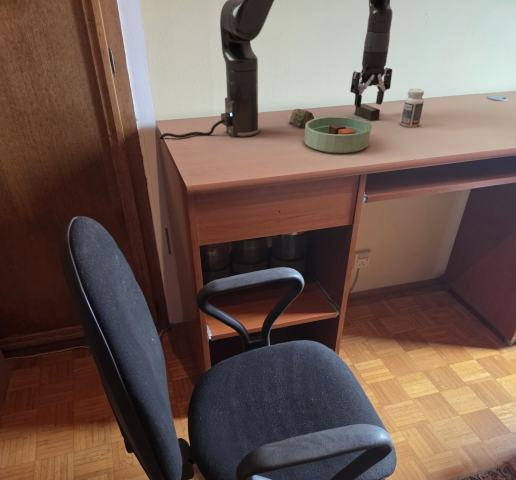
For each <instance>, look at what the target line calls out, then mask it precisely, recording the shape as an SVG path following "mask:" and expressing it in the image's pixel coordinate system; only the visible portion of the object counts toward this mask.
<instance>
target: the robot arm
mask: <svg viewBox="0 0 516 480" xmlns="http://www.w3.org/2000/svg"><path fill="white" fill-rule="evenodd" d="M274 2H275V0H226V1H225V2H224V3H223V6H222V7H221V10H220V15H219V26H220V27H219V28H220V42H221V51H222V56H223V59H224V62H225V78H226V97H224V110H225V112H223V113H220V120H219V121H217V122H216V123H214V124H213V125H212V126H211V129H210V130H209V131H208V132H203V131H202V132H201V131H191V132H187V133H182V134H175V133H171V132H165V133H163V134H161V135H160V136H159V137H158V140H163V139H164V138H165V137H171V138H177V139H182V138H187V137H191V136H211V135H212V134H213V133H214V131H215V129H216V128H217V127H218V126H219V125H222V126H224V127H225V131H226V132H227V133H228V134H229V135H230V136H232V137H234V138H235V137H253V136H255V135H257V134H259V59H258V56H257V55H256V54H255V52H254V51H253V48H252V44H251V43H252V41H254V40H255V39H256V38H257V37H258V36H259V35H260V34H261V32H262V30H263V27H264V25H265V24H266V21H267V18H268V17H269V14H270V13H271V9H272V7H273V4H274ZM368 8H369V9H368V19H367V27H366V34H365V37H364V43H363V52H362V59H361V67H362V69H361V71H356V70H355V71H353V72H352V77H351V84H350V90H349V92H350V93H352V94H354V102H353V103H354V104H353V105H354V106H355V108H356V107H357V108H360V107H361V104H362V100H363V99H362V98H363V95H362V94H363V93H364V91H365V90H367V88H368V87H372V86H376V88H377V90H378V91H377V94H376V101H375V104H376V105H378V106H379V105H381V106H382V103H383V101H384V96H385V92H386V91H387V90H390V89H391V85H392V77H393V69H392V68H391V67H385V66H386V65H387V61H388V54H389V48H390V47H389V46H390V39H391V27H392V22H393V9H392V7H391V0H368ZM164 230H165V238H166V243H167V253H168V255H172V249H171V241H170V236H169V235H170V234H169V230H168V227H164Z"/></svg>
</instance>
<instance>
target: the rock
mask: <svg viewBox="0 0 516 480" xmlns="http://www.w3.org/2000/svg"><path fill="white" fill-rule="evenodd" d="M312 119H315V116H314V114H313V113H312V112H311V111H310V110H305V109H301V108H295V109H293V110H292V112H291V115H290V117H289V124H292V125H294V126H295V127H298V128H300V129H305V124H306V123H307V122H308V121H310V120H312Z"/></svg>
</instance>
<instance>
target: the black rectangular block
mask: <svg viewBox="0 0 516 480" xmlns="http://www.w3.org/2000/svg"><path fill="white" fill-rule="evenodd" d="M380 113H381V109H379V108H377V107H374V106H371V105H369V104H366V103H361V107H360V108H357V107H355V108H354V115H355V116H358V117H360V118H363V119H364V120H367V121H379V120H380Z"/></svg>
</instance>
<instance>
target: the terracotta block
mask: <svg viewBox="0 0 516 480" xmlns="http://www.w3.org/2000/svg"><path fill="white" fill-rule="evenodd" d="M355 132H356V131H354V130H351V129H349V128H347V129H340V130H338V135H347V134H355Z"/></svg>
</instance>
